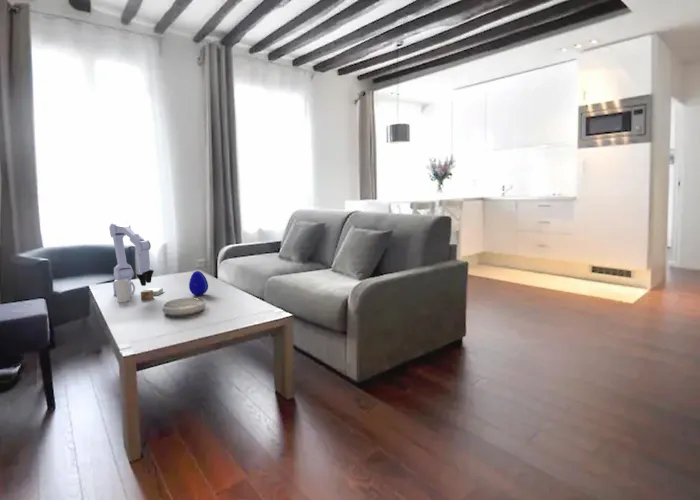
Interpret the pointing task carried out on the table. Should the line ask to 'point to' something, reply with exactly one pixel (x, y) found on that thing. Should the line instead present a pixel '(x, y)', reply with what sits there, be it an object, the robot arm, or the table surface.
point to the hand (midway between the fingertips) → (146, 284)
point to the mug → (123, 290)
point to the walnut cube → (147, 295)
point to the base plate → (156, 291)
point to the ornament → (198, 283)
